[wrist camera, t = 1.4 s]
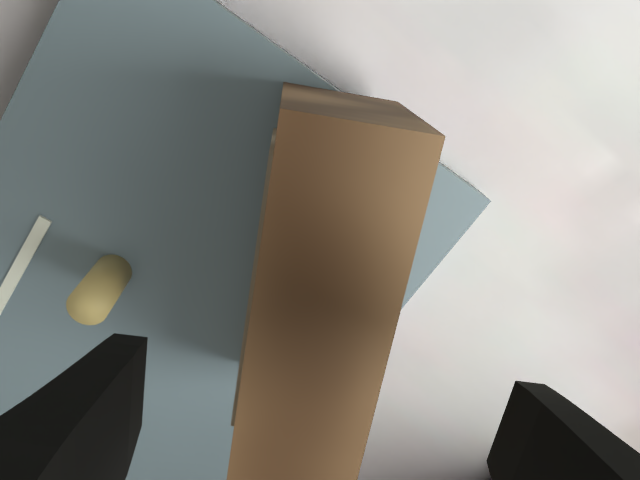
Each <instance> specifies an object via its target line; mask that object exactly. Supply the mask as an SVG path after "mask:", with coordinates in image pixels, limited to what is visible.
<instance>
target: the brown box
mask: <svg viewBox="0 0 640 480" xmlns="http://www.w3.org/2000/svg"><path fill="white" fill-rule="evenodd" d="M444 140H445V136H444V135H443V134H442V133H440V132H439V131H437V130H436V129H435V128H433V127H432V126H431V125H429V124H428V123H426V122H425V121H424V120H422V119H421V118H419V117H418V116H417V115H415V114H414V113H413V112H411V111H410V110H408V109H407V108H406V107H404V106H403V105H401V104H400V103H399V102H397V101H391V100H385V99H379V98H374V97H368V96H362V95H356V94H351V93H345V92H339V91H333V90H328V89H322V88H316V87H311V86H305V85H299V84H293V83H288V82H283V89H282V95H281V102H280V109H279V116H278V123H277V128H273V133H272V139H271V145H270V150H269V156H268V163H267V171H266V178H265V185H264V192H263V199H262V206H261V213H260V220H259V227H258V234H257V241H256V249H255V256H254V263H253V270H252V277H251V284H250V291H249V298H248V305H247V312H246V319H245V326H244V334H243V341H242V348H241V355H240V362H239V369H238V376H237V383H236V390H235V397H234V404H233V411H232V419H231V426H234V430H233V437H232V444H231V451H230V458H229V465H228V472H227V479H226V480H357V478H358V474H359V470H360V466H361V462H362V459H363V455H364V451H365V447H366V443H367V439H368V435H369V431H370V427H371V424H372V420H373V416H374V412H375V408H376V404H377V400H378V396H379V392H380V389H381V385H382V381H383V377H384V373H385V369H386V365H387V361H388V357H389V354H390V350H391V346H392V342H393V338H394V334H395V330H396V326H397V322H398V319H399V315H400V311H401V307H402V303H403V299H404V295H405V291H406V287H407V284H408V280H409V276H410V272H411V268H412V264H413V260H414V256H415V252H416V249H417V245H418V241H419V237H420V233H421V229H422V225H423V221H424V218H425V214H426V210H427V206H428V202H429V198H430V194H431V190H432V186H433V183H434V179H435V175H436V171H437V167H438V163H439V159H440V155H441V151H442V148H443V144H444Z"/></svg>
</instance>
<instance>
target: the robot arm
mask: <svg viewBox="0 0 640 480" xmlns="http://www.w3.org/2000/svg"><path fill="white" fill-rule="evenodd" d="M147 341H148V337H142V336H134V335H125V334H117V333H114V334H112V335H111V336H109V337H108V338H107V339H105V340H104V341H103V342H101V343H100V344H99V345H97V346H96V347H95V348H93V349H92V350H91V351H89V352H88V353H87V354H86V355H84V356H83V357H82V358H80V359H79V360H78V361H77V362H75V363H74V364H73V365H71V366H70V367H69V368H67V369H66V370H65V371H63V372H62V373H61V374H59V375H58V376H57V377H55V378H54V379H52V380H51V381H50V382H48V383H47V384H46V385H44V386H43V387H41V388H40V389H39V390H37V391H36V392H34V393H33V394H32V395H30V396H29V397H27V398H26V399H25V400H23V401H22V402H20V403H19V404H17V405H16V406H14V407H13V408H11V409H10V410H8V411H6V412H5V413H3V414H2V415H0V480H125V479H126V477H127V474H128V471H129V467H130V464H131V461H132V457H133V454H134V451H135V447H136V444H137V441H138V437H139V434H140V430H141V427H142V416H143V401H144V386H145V371H146V356H147ZM487 464H488V468H489V472H490V476H491V480H640V453H638V452H637V451H636V450H634V449H633V448H632V447H630V446H629V445H628V444H626V443H625V442H624V441H622V440H621V439H620V438H618V437H617V436H616V435H614V434H613V433H612V432H610V431H609V430H608V429H606V428H605V427H604V426H602V425H601V424H600V423H598V422H597V421H596V420H595V419H593V418H592V417H591V416H589V415H588V414H587V413H585V412H584V411H583V410H581V409H580V408H579V407H577V406H576V405H574V404H573V403H572V402H570V401H569V400H568V399H566V398H565V397H563V396H562V395H560V394H559V393H557V392H556V391H554V390H553V389H551V388H550V387H548V386H546V385H545V384H538V383H529V382H521V381H515V384H514V387H513V389H512V392H511V395H510V398H509V400H508V403H507V406H506V409H505V412H504V414H503V417H502V420H501V423H500V425H499V428H498V431H497V434H496V436H495V439H494V442H493V445H492V447H491V450H490V453H489V456H488V458H487Z"/></svg>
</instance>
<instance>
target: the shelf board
mask: <svg viewBox="0 0 640 480" xmlns="http://www.w3.org/2000/svg"><path fill="white" fill-rule="evenodd" d="M283 82H288V83H293V84H299V85H305V86H311V87H316V88H322V89H328V90H333V91H339V92H342V91H340V90H339V89H338V88H336V87H335V86H333V85H332V84H331V83H329V82H328V81H326V80H325V79H324V78H322V77H321V76H320V75H318V74H317V73H315V72H314V71H313V70H311V69H310V68H308V67H307V66H306V65H304V64H303V63H302V62H300V61H299V60H297V59H296V58H295V57H293V56H292V55H290V54H289V53H288V52H286V51H285V50H284V49H282V48H281V47H279V46H278V45H277V44H275V43H274V42H272V41H271V40H270V39H268V38H267V37H266V36H264V35H263V34H261V33H260V32H259V31H257V30H256V29H254V28H253V27H252V26H250V25H249V24H248V23H246V22H245V21H243V20H242V19H241V18H239V17H238V16H236V15H235V14H234V13H232V12H231V11H230V10H228V9H227V8H225V7H224V6H223V5H221V4H220V3H218V2H217V1H216V0H59V2H58V4H57V6H56V8H55V10H54V12H53V14H52V16H51V18H50V20H49V22H48V24H47V26H46V28H45V30H44V32H43V34H42V36H41V38H40V41H39V43H38V45H37V47H36V49H35V51H34V53H33V55H32V57H31V59H30V61H29V63H28V65H27V67H26V69H25V71H24V73H23V75H22V77H21V79H20V81H19V83H18V86H17V88H16V90H15V92H14V94H13V96H12V98H11V100H10V102H9V104H8V106H7V108H6V110H5V112H4V114H3V116H2V118H1V120H0V415H2V414H3V413H5V412H6V411H8V410H10V409H11V408H13V407H14V406H16V405H17V404H19V403H20V402H22V401H23V400H25V399H26V398H27V397H29V396H30V395H32V394H33V393H34V392H36V391H37V390H39V389H40V388H41V387H43V386H44V385H46V384H47V383H48V382H50V381H51V380H52V379H54V378H55V377H57V376H58V375H59V374H61V373H62V372H63V371H65V370H66V369H67V368H69V367H70V366H71V365H73V364H74V363H75V362H77V361H78V360H79V359H80V358H82V357H83V356H84V355H86V354H87V353H88V352H89V351H91V350H92V349H93V348H95V347H96V346H97V345H99V344H100V343H101V342H103V341H104V340H105V339H107V338H108V337H109V336H111V335H112V334H114V333H117V334H125V335H134V336H142V337H148V341H147V356H146V371H145V386H144V401H143V416H142V427H141V430H140V434H139V437H138V441H137V444H136V447H135V451H134V454H133V457H132V461H131V464H130V467H129V471H128V474H127V477H126V479H125V480H226V479H227V472H228V465H229V458H230V451H231V444H232V437H233V430H234V426H231V419H232V411H233V404H234V397H235V390H236V383H237V376H238V369H239V362H240V355H241V348H242V341H243V334H244V326H245V319H246V312H247V305H248V298H249V291H250V284H251V277H252V270H253V263H254V256H255V249H256V241H257V234H258V227H259V220H260V213H261V206H262V199H263V192H264V185H265V178H266V171H267V163H268V156H269V150H270V145H271V139H272V133H273V128H277V123H278V116H279V109H280V102H281V95H282V89H283ZM490 202H491V201H490V200H489V199H488V198H487V197H486V196H485V195H483V194H482V193H481V192H480V191H479V190H477V189H476V188H475V187H473V186H472V185H470V184H469V183H468V182H466V181H465V180H464V179H462V178H461V177H459V176H458V175H457V174H455V173H454V172H452V171H451V170H450V169H448V168H447V167H446V166H444V165H443V164H441V163H440V162H439V163H438V167H437V171H436V175H435V179H434V183H433V186H432V190H431V194H430V198H429V202H428V206H427V210H426V214H425V218H424V221H423V225H422V229H421V233H420V237H419V241H418V245H417V249H416V252H415V256H414V260H413V264H412V268H411V272H410V276H409V280H408V284H407V287H406V291H405V295H404V299H403V303H402V307H401V309H402V308H403V307H404V305H405V304H406V303H407V302H408V301H409V299H410V298H411V297H412V296H413V295H414V293H415V292H416V291H417V290H418V288H419V287H420V286H421V285H422V284H423V282H424V281H425V280H426V279H427V278H428V276H429V275H430V274H431V273H432V272H433V270H434V269H435V268H436V267H437V266H438V264H439V263H440V262H441V261H442V260H443V258H444V257H445V256H446V255H447V254H448V252H449V251H450V250H451V249H452V248H453V246H454V245H455V244H456V243H457V242H458V240H459V239H460V238H461V237H462V236H463V234H464V233H465V232H466V231H467V230H468V228H469V227H470V226H471V225H472V223H473V222H474V221H475V220H476V219H477V217H478V216H479V215H480V214H481V213H482V211H483V210H484V209H485V208H486V207H487V205H488V204H489V203H490Z"/></svg>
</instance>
